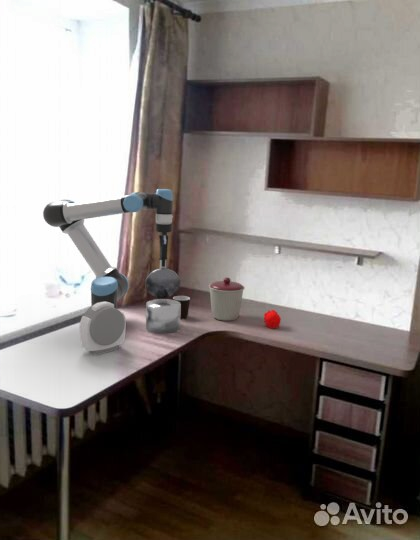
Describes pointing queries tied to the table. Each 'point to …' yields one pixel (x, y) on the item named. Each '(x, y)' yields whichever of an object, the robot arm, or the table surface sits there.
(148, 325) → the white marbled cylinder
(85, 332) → the alarm clock
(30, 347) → the table surface
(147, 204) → the robot arm
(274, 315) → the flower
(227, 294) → the canister
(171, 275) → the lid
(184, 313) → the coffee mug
